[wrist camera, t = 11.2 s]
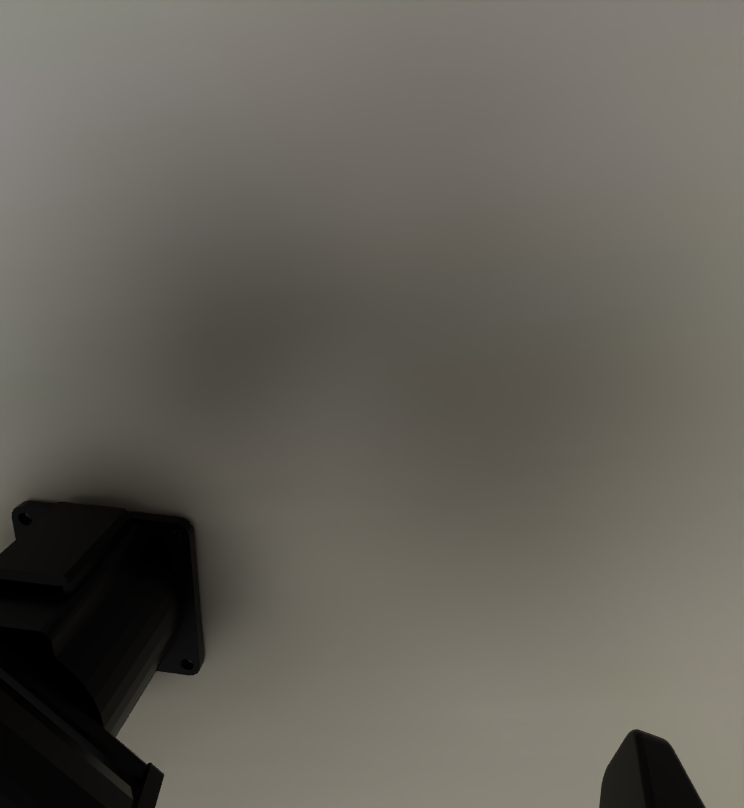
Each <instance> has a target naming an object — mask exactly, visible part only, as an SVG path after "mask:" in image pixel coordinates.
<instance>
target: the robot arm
mask: <svg viewBox="0 0 744 808" xmlns="http://www.w3.org/2000/svg"><path fill="white" fill-rule="evenodd" d="M26 513H27V514H28V515H29V516H30V517H31V519H30V518H29V517H27V516H26ZM12 521H13V526H14V532H15V537H16V540H15V541H14V542H13V543H12V544H11V545H10V546H9V547H7V548H6V549H5V550H4V551H3V552H2V553H1V554H0V808H155V806H156V802H157V799H158V795H159V792H160V788H161V785H162V781H163V778H164V774H163V773H162V772H161V771H160V770H159V769H157V768H156V767H155V766H154V765H153V764H152V763H148V764H146V763H145V762H144V761H142V760H141V759H140V758H139V757H138V756H137V755H135V754H134V753H133V752H132V751H131V750H130V749H128V748H127V747H126V746H125V745H124V744H123V743H121V742H120V741H119V740H118V739H117V738H115V737H116V736H117V734H118V733H119V731H120V729H121V728H122V726H123V724H124V723H125V721H126V719H127V718H128V716H129V714H130V713H131V711H132V710H133V708H134V706H135V705H136V703H137V701H138V700H139V698H140V696H141V695H142V693H143V692H144V690H145V688H146V687H147V685H148V683H149V682H150V680H151V678H152V677H153V675H154V674H155V672H156V671H161V672H168V673H176V674H183V675H194V674H197V673H198V671H199V670H200V668H201V667H202V665H203V663H204V650H203V637H202V625H201V612H200V600H199V587H198V575H197V562H196V550H195V537H194V529H193V526H192V525H191V523H190V522H189V521H188V520H186V519H185V518H182V517H177V516H168V515H158V514H149V513H140V512H130V511H128V510H126V509H123V508H114V507H104V506H95V505H85V504H76V503H66V502H59V503H57V504H55V503H46V502H36V501H24V502H23V503H21V504H20V505H19V506H17V507H16V508H15V509H14V510H13V512H12ZM173 529H176V530H179V531H180V532H181V533H182V536H180V535H177V534H176V533H175V532H174V530H173ZM186 659H188V660H191V661H192V662H189V661H188V660H186ZM599 808H705V806H704V804H703V802H702V800H701V799H700V797H699V795H698V793H697V791H696V789H695V788H694V786H693V784H692V782H691V780H690V779H689V777H688V775H687V773H686V771H685V769H684V768H683V766H682V764H681V762H680V760H679V758H678V757H677V755H676V753H675V751H674V749H673V748H672V746H671V745H670V744H669V743H668V742H667V741H666V740H665V739H663V738H660V737H658V736H655V735H652V734H649V733H647V732H644V731H641V730H637V729H635V730H632V731H630V732H629V733H628V735H627V736H626V737H625V739H624V741H623V742H622V744H621V745H620V747H619V749H618V750H617V752H616V753H615V755H614V757H613V758H612V760H611V761H610V763H609V765H608V766H607V768H606V771H605V773H604V777H603V781H602V787H601V796H600V805H599Z"/></svg>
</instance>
